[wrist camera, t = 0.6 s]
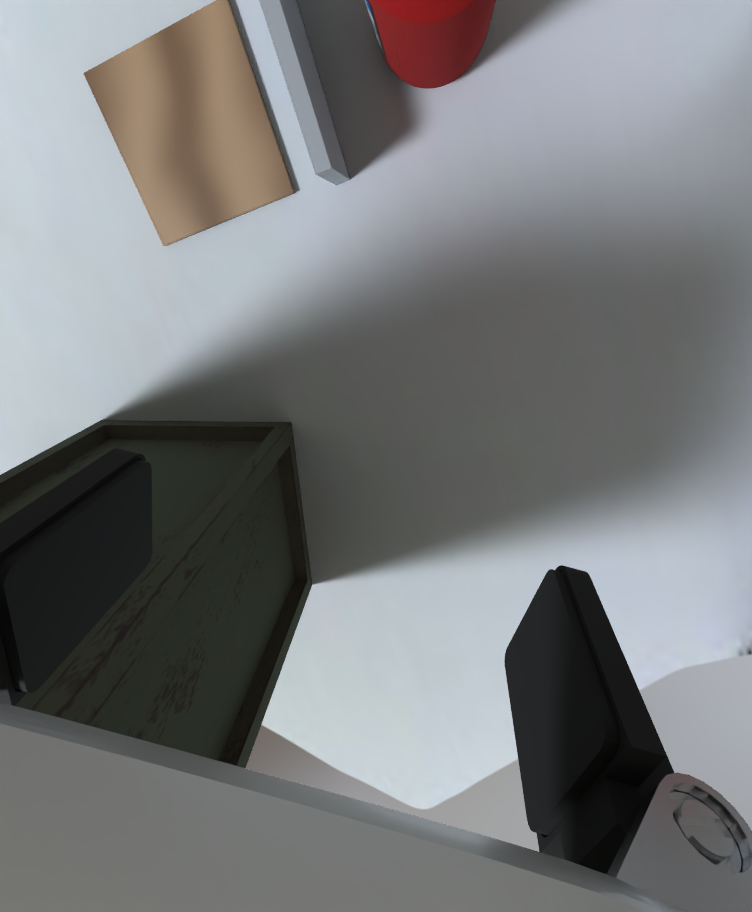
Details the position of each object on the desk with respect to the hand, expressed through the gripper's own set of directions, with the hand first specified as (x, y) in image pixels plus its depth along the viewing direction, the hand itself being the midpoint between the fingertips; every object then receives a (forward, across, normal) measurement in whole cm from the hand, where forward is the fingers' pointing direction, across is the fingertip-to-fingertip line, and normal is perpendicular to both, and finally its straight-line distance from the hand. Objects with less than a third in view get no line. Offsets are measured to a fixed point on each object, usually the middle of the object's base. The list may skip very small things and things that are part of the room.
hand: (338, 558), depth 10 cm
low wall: (+28, +10, -14) cm, 33 cm away
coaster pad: (+28, +18, -9) cm, 34 cm away
